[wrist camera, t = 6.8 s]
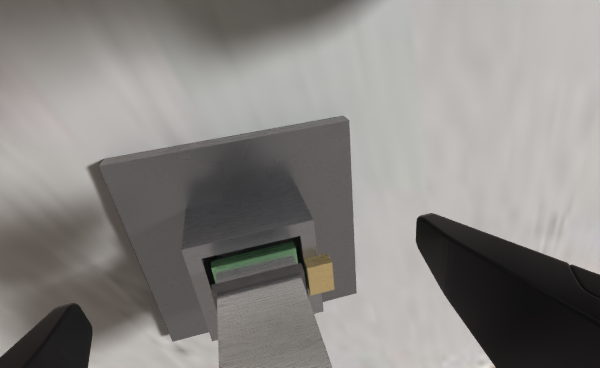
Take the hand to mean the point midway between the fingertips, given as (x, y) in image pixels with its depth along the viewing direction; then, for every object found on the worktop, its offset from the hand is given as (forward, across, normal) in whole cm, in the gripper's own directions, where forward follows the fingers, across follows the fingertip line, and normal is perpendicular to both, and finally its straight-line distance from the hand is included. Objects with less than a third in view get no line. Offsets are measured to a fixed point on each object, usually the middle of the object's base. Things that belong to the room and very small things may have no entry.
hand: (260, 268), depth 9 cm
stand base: (+12, +1, +8) cm, 15 cm away
